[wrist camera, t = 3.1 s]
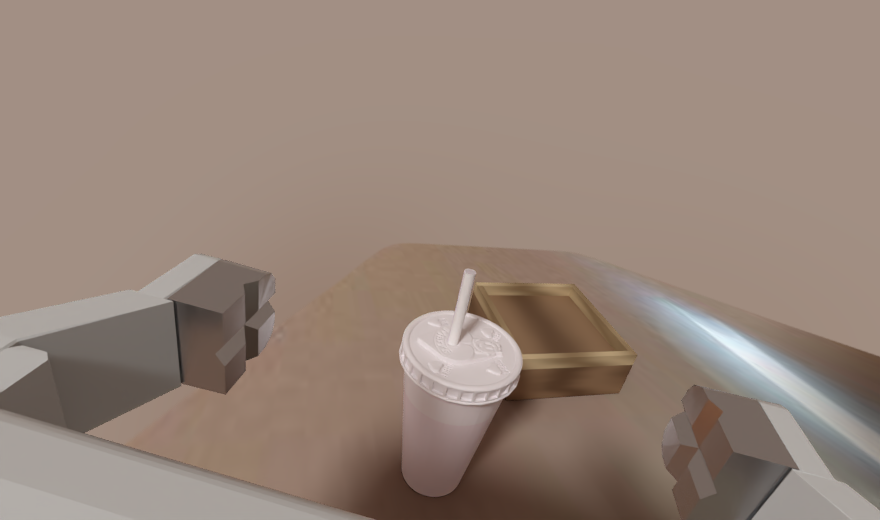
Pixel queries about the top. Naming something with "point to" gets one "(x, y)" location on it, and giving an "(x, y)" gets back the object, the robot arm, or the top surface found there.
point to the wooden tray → (556, 339)
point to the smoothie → (451, 391)
